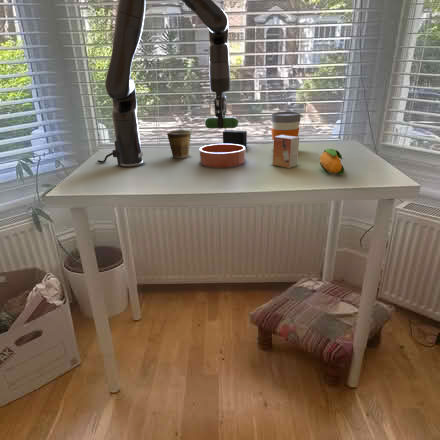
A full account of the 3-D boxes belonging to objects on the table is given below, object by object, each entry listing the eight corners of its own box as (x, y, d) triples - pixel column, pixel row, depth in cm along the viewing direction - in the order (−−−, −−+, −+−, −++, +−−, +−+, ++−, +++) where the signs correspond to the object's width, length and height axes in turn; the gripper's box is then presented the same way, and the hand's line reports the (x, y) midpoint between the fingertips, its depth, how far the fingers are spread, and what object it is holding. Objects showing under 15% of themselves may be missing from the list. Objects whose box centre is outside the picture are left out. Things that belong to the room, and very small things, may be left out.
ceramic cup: (196, 156, 171) (195, 132, 166) (176, 160, 167) (174, 135, 162) (181, 152, 181) (180, 128, 176) (162, 155, 176) (159, 131, 171)
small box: (272, 165, 155) (273, 136, 149) (280, 162, 158) (281, 134, 153) (289, 168, 150) (291, 138, 144) (297, 165, 153) (299, 136, 148)
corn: (338, 144, 147) (351, 156, 130) (337, 165, 151) (349, 179, 134) (317, 146, 148) (328, 158, 131) (317, 166, 152) (327, 181, 135)
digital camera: (247, 146, 187) (247, 130, 184) (243, 148, 183) (243, 132, 180) (227, 145, 191) (227, 129, 188) (223, 147, 187) (222, 131, 183)
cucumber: (204, 129, 153) (203, 118, 151) (206, 127, 157) (205, 116, 155) (237, 128, 151) (237, 117, 149) (238, 127, 155) (238, 116, 153)
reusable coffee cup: (264, 151, 176) (265, 114, 168) (278, 146, 184) (279, 111, 177) (290, 154, 169) (292, 116, 162) (303, 149, 178) (305, 112, 170)
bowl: (196, 167, 155) (195, 153, 152) (205, 157, 170) (204, 143, 167) (242, 168, 152) (242, 153, 149) (247, 157, 167) (247, 143, 165)
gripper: (213, 76, 152) (215, 124, 160) (205, 78, 140) (208, 130, 149) (232, 75, 150) (233, 124, 159) (226, 77, 138) (228, 130, 147)
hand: (221, 127), depth 154 cm, fingers closed on cucumber, 4 cm apart
